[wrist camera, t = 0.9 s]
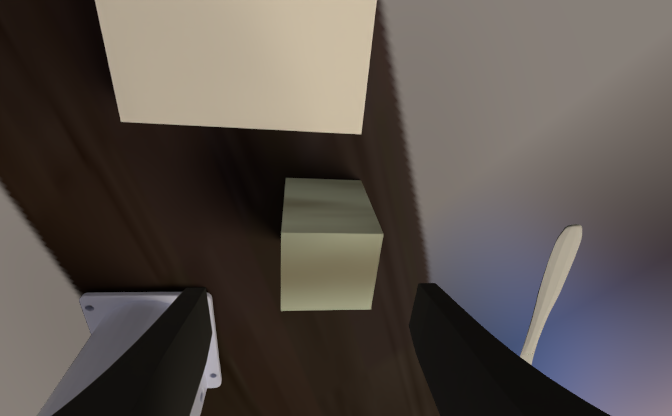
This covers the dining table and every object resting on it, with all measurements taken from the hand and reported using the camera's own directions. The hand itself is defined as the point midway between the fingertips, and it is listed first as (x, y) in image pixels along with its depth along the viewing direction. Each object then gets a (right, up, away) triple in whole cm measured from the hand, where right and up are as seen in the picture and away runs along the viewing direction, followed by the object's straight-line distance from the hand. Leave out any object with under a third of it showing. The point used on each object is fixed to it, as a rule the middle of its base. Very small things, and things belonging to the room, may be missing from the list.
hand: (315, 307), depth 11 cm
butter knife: (+18, -9, +18) cm, 27 cm away
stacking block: (0, +3, +9) cm, 10 cm away
